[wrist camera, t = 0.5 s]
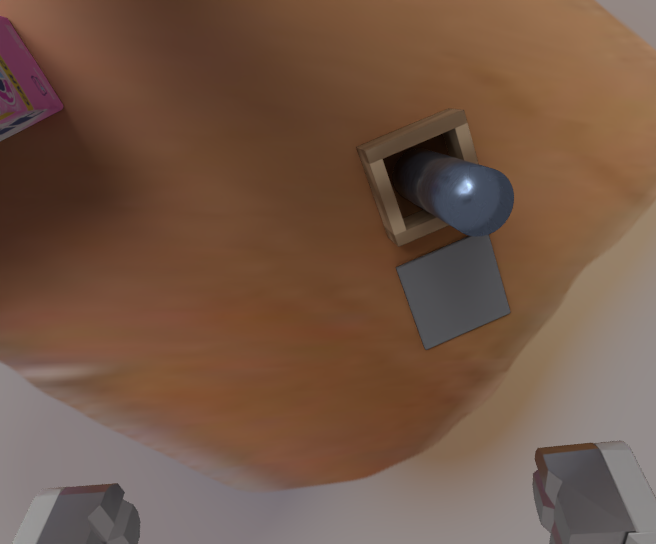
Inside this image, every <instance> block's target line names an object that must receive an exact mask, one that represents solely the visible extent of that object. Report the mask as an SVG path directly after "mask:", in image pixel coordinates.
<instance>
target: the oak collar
mask: <svg viewBox="0 0 656 544" xmlns="http://www.w3.org/2000/svg"><path fill="white" fill-rule="evenodd" d="M442 133H443V136H444V140H445V143H446V147H447V150H448V153H449V156H451V157H455V158H458V159H461V160H465V161H468V162H472V163H475V164H478V165H479V163H478V160H477V156H476V152H475V149H474V145H473V141H472V138H471V134H470V130H469V127H468V123H467V119H466V116H465V112H464V110H461V109H449V108H448V109H446V110H444V111H441V112H439V113H437V114H434V115H432V116H429V117H427V118H425V119H422V120H420V121H417V122H415V123H413V124H410V125H408V126H405V127H403V128H401V129H398V130H396V131H394V132H391V133H389V134H386V135H384V136H382V137H379V138H377V139H374V140H372V141H370V142H367V143H365V144H362V145H360V146H358V147H356V148H357V151H358V154H359V157H360V159H361V162H362V165H363V168H364V171H365V174H366V176H367V179H368V182H369V185H370V188H371V190H372V193H373V196H374V199H375V202H376V205H377V207H378V210H379V213H380V216H381V219H382V221H383V224H384V227H385V230H386V233H387V236H388V238H389V239H391V240H392V241H393V242H394V243H395V244H396V245H397V246H398V247H399V246H402V245H404V244H406V243H409V242H411V241H413V240H416V239H418V238H420V237H423V236H425V235H427V234H430V233H432V232H434V231H437V230H439V229H441V228H444V227H446V226H448V225H449V224H447V223H445V222H444V221H442V220H440V219H439V218H437V217H435V216H434V215H432V214H431V213H429V212H427V211H426V210H422V211H419V212H417V213H415V214H412V215H410V216H408V217H405V218H402V215H401V212H400V210H399V207H398V204H397V201H396V198H395V195H394V192H393V189H392V186H391V183H390V180H389V177H388V174H387V171H386V168H385V165H384V162H383V158H385V157H388V156H390V155H393V154H395V153H397V152H400V151H402V150H404V149H407V148H409V147H412V146H414V145H416V144H419V143H421V142H423V141H426V140H428V139H431V138H433V137H435V136H438V135H440V134H442Z"/></svg>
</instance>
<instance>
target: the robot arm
mask: <svg viewBox="0 0 656 544" xmlns="http://www.w3.org/2000/svg"><path fill="white" fill-rule="evenodd" d="M535 462H536V465H537V468H538V470H537V471H536V472H535V473H533V492H534V499H535V504H536V508H537V512H538V515H539V519H540V522H541V525H542V526H543V527H545V528H546V529H547V530H548V531H549V532H550V533H551V536H550V544H656V497H655V495H654V493H653V491H652V489H651V487H650V486H649V484H648V482H647V480H646V478H645V476H644V474H643V472H642V470H641V468H640V466H639V464H638V462H637V460H636V458H635V456H634V454H633V452H632V451H631V448H630V447H629V446H628V445H627V444H626V443H625V442H624V441H612V442H601V443H584V444H574V445H564V446H554V447H544V448H538V449H537V450H536V453H535ZM124 493H125V492H124V491H123V489H122V488H121V487H120V486H119V484H118V483H115V484H104V485H103V484H102V485H89V486H77V487H59V488H48V489H42V490H41V491H40V492H39V493H38V494H37V495H36V496H35V498H34V499H33V502H32V503H31V505H30V508H29V510H28V512H27V514H26V516H25V518H24V520H23V522H22V524H21V526H20V528H19V530H18V532H17V534H16V536H15V538H14V540H13V542H12V544H138V541H139V537H140V518H139V515H138V511H137V510H136V508H135V507H134V505H133V504H131V503H129V502H127V501H125V500H123V496H124Z"/></svg>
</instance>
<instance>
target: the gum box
mask: <svg viewBox="0 0 656 544" xmlns="http://www.w3.org/2000/svg"><path fill="white" fill-rule="evenodd" d="M62 109H63V104H62V102H61V101H60V99H59V98H58V96H57V95H56V93H55V91H54V90H53V88H52V87H51V85H50V83H49V82H48V80H47V79H46V77H45V75H44V74H43V72H42V70H41V69H40V68H39V66H38V64H37V63H36V61H35V59H34V58H33V57H32V55H31V54H30V52H29V51H28V49H27V48H26V46H25V45H24V43H23V42H22V40H21V39H20V37H19V35H18V34H17V32H16V31H15V29H14V28H13V26H12V25H11V23H10V21H9V20H8V18H5V17H2V16H0V141H2V140H4V139H6V138H8V137H10V136H12V135H14V134H16V133H18V132H20V131H22V130H24V129H26V128H28V127H29V126H31V125H33V124H35V123H37V122H39V121H41V120H43V119H45V118H47V117H49V116H51V115H53V114H55V113H56V112H58V111H60V110H62Z"/></svg>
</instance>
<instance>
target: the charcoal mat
mask: <svg viewBox="0 0 656 544" xmlns="http://www.w3.org/2000/svg"><path fill="white" fill-rule="evenodd" d="M396 270H397V273H398V275H399V278H400V281H401V284H402V287H403V289H404V292H405V295H406V298H407V301H408V303H409V306H410V309H411V312H412V315H413V317H414V320H415V323H416V326H417V329H418V331H419V334H420V337H421V340H422V343H423V345H424V348H425V350H427V349H429V348H431V347H434V346H436V345H438V344H441V343H443V342H445V341H447V340H450V339H452V338H454V337H456V336H459V335H461V334H463V333H466V332H468V331H470V330H472V329H475V328H477V327H479V326H482V325H484V324H486V323H488V322H491V321H493V320H495V319H498V318H500V317H502V316H504V315H507V314H509V313H510V309H509V305H508V302H507V298H506V295H505V291H504V288H503V284H502V280H501V277H500V273H499V270H498V266H497V263H496V259H495V255H494V252H493V248H492V245H491V241H490V237H489V234H488V235H485V236H479V237H475V236H468V237H465V238H463V239H461V240H458V241H456V242H454V243H451V244H449V245H447V246H445V247H442V248H440V249H438V250H435V251H433V252H431V253H428V254H426V255H424V256H421V257H419V258H417V259H414V260H412V261H410V262H407V263H405V264H403V265H400V266H398V267H396Z"/></svg>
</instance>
